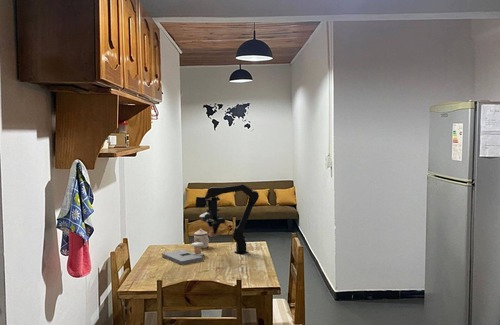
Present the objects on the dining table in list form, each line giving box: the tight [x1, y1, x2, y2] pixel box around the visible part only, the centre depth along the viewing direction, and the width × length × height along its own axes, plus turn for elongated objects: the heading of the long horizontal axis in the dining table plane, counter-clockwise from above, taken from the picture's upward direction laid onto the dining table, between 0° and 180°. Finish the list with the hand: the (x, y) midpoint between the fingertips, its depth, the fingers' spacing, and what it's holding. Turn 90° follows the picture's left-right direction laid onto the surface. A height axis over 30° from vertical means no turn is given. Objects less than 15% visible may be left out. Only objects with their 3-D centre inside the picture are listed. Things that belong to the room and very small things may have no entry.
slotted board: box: [161, 249, 204, 266], centre depth 275 cm, size 24×14×2 cm, turn 37°
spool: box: [191, 242, 205, 257], centre depth 282 cm, size 7×7×7 cm
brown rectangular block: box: [208, 226, 219, 238], centre depth 285 cm, size 3×4×6 cm, turn 127°
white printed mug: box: [193, 228, 210, 249], centre depth 302 cm, size 12×9×12 cm
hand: (213, 233), depth 285 cm, fingers closed on brown rectangular block, 3 cm apart
